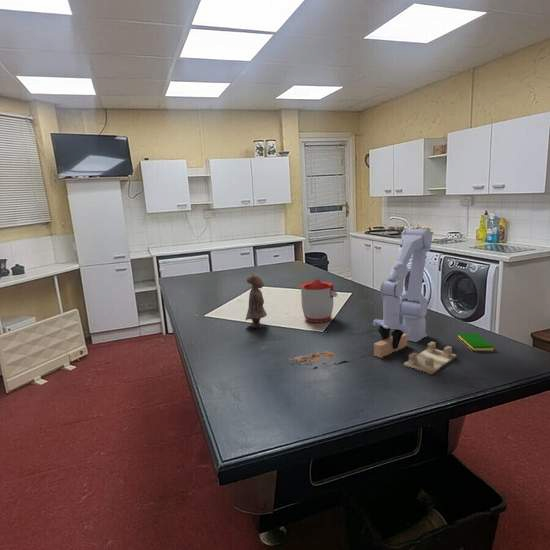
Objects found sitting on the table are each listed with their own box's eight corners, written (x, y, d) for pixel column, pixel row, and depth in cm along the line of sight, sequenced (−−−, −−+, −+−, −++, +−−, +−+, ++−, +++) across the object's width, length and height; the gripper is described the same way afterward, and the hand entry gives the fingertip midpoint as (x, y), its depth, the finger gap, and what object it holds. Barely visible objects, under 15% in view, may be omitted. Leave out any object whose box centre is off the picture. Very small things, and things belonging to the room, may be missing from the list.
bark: (334, 349, 150) (334, 348, 150) (350, 361, 140) (350, 359, 139) (282, 361, 143) (282, 360, 143) (294, 374, 132) (294, 373, 132)
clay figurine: (268, 329, 175) (265, 276, 170) (246, 332, 174) (242, 277, 169) (265, 320, 188) (262, 270, 182) (245, 322, 187) (241, 272, 181)
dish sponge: (473, 353, 141) (473, 346, 141) (457, 338, 155) (458, 333, 154) (493, 352, 141) (494, 346, 141) (476, 338, 155) (476, 332, 154)
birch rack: (429, 349, 145) (429, 339, 144) (456, 357, 138) (456, 346, 137) (403, 365, 134) (403, 354, 133) (431, 374, 126) (431, 363, 125)
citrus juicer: (334, 325, 176) (333, 283, 171) (297, 323, 181) (296, 282, 177) (340, 315, 190) (339, 275, 186) (306, 313, 196) (304, 274, 192)
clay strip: (400, 344, 152) (400, 332, 151) (407, 346, 150) (407, 334, 148) (373, 356, 143) (373, 343, 142) (380, 358, 140) (380, 346, 139)
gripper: (368, 311, 146) (368, 345, 149) (403, 319, 135) (402, 355, 138) (379, 306, 150) (379, 339, 153) (413, 314, 139) (412, 349, 142)
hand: (390, 346), depth 146 cm, fingers closed on clay strip, 3 cm apart
